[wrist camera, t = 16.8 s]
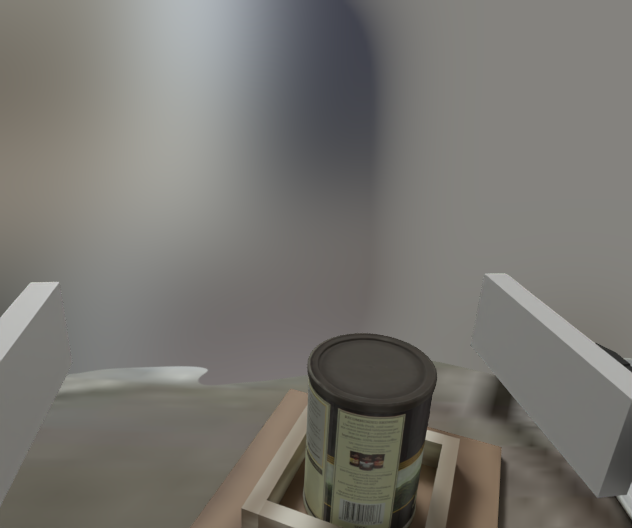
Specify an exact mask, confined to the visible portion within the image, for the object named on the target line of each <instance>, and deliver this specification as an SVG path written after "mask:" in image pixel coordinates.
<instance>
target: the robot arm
mask: <svg viewBox="0 0 632 528" xmlns="http://www.w3.org/2000/svg"><path fill="white" fill-rule="evenodd" d="M471 347H472V348H473V349H474V350H475V351H476V353H478V355H479V356H480V357H481V359H482V360H483V361H484V362H485V363H486V365H487V366H488V367H489V368H490V369H491V371H492V372H493V373H494V374H495V375H496V377H497V378H498V379H499V380H500V381H501V383H502V384H503V385H504V386H505V387H506V389H507V390H508V391H509V392H510V393H511V395H512V396H513V397H514V398H515V399H516V401H517V402H518V403H519V404H520V405H521V407H522V408H523V409H524V410H525V411H526V413H527V414H528V415H529V416H530V417H531V419H532V420H533V421H534V422H535V423H536V425H537V426H538V427H539V428H540V429H541V431H542V432H543V433H544V434H545V435H546V437H547V438H548V439H549V440H550V441H551V443H552V444H553V445H554V446H555V447H556V449H557V450H558V451H559V452H560V453H561V455H562V456H563V457H564V458H565V459H566V461H567V462H568V463H569V464H570V465H571V467H572V468H573V469H574V470H575V471H576V473H577V474H578V475H579V476H580V477H581V479H582V480H583V481H584V482H585V483H586V485H587V486H588V487H589V488H590V489H591V491H592V492H593V493H594V494H595V495H596V497H597V498H601V497H611V496H621V495H627V493H628V490H629V488H630V485H631V483H632V366H630V363H628V362H627V361H626V360H625V359H623V358H622V357H621V356H619V355H618V354H617V353H615V352H613V351H611V350H609V349H607V348H605V347H603V346H601V345H599V344H597V343H594V342H593V341H591V340H590V339H589V338H587V337H586V336H585V335H584V334H582V333H581V332H580V331H579V330H577V329H576V328H575V327H573V326H572V325H571V324H569V323H568V322H567V321H566V320H565V319H563V318H562V317H561V316H560V315H558V314H557V313H556V312H554V311H553V310H552V309H551V308H549V307H548V306H547V305H546V304H544V303H543V302H542V301H540V300H539V299H538V298H537V297H535V296H534V295H533V294H532V293H530V292H529V291H528V290H526V289H525V288H524V287H523V286H521V285H520V284H519V283H517V282H516V281H515V280H514V279H513V278H511V277H510V276H509V275H507V274H506V273H494V274H493V273H492V274H484V279H483V284H482V289H481V294H480V299H479V304H478V310H477V315H476V320H475V325H474V330H473V335H472V341H471ZM71 365H72V358H71V352H70V345H69V339H68V332H67V327H66V320H65V314H64V307H63V301H62V294H61V288H60V282H31V283H30V284H29V285H28V286H27V287H26V288H25V290H24V291H23V292H22V293H21V294H20V295H19V297H18V298H17V299H16V300H15V301H14V302H13V304H12V305H11V306H10V307H9V308H8V309H7V311H6V312H5V313H4V314H3V315H2V316H1V317H0V506H1V504H2V502H3V500H4V498H5V496H6V494H7V492H8V490H9V488H10V486H11V484H12V482H13V480H14V478H15V476H16V474H17V472H18V470H19V468H20V466H21V464H22V462H23V460H24V458H25V456H26V454H27V452H28V451H29V449H30V447H31V445H32V443H33V441H34V439H35V437H36V435H37V433H38V431H39V429H40V427H41V425H42V423H43V421H44V419H45V417H46V415H47V413H48V411H49V409H50V407H51V405H52V403H53V401H54V399H55V397H56V395H57V393H58V391H59V389H60V387H61V385H62V383H63V381H64V379H65V377H66V375H67V373H68V371H69V369H70V367H71Z"/></svg>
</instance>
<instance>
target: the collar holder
mask: <svg viewBox="0 0 632 528" xmlns="http://www.w3.org/2000/svg"><path fill="white" fill-rule="evenodd" d="M307 406H308V393H304V392H301V391H297V390H294V389H290V390H289V391H288V393H287V394H286V395H285V397H284V398H283V400H282V401H281V402H280V404H279V405H278V406H277V408H276V409H275V411H274V412H273V413H272V415H271V416H270V418H269V419H268V420H267V422H266V423H265V424H264V426H263V427H262V429H261V430H260V431H259V433H258V434H257V436H256V437H255V438H254V440H253V441H252V442H251V444H250V445H249V447H248V448H247V449H246V451H245V452H244V454H243V455H242V456H241V458H240V459H239V460H238V462H237V463H236V465H235V466H234V467H233V469H232V470H231V472H230V473H229V474H228V476H227V477H226V478H225V480H224V481H223V483H222V484H221V485H220V487H219V488H218V490H217V491H216V492H215V494H214V495H213V496H212V498H211V499H210V501H209V502H208V503H207V505H206V506H205V508H204V509H203V510H202V512H201V513H200V514H199V516H198V517H197V519H196V520H195V521H194V523H193V524H192V526H191V527H190V528H343V527H340V526H337V525H334V524H332V523H329V522H326V521H323V520H320V519H318V518H315V517H312V516H309V515H308V514H307V511H306V508H305V505H304V501H303V488H304V477H305V454H306V430H307ZM500 466H501V447H499V446H495V445H491V444H488V443H484V442H481V441H477V440H473V439H470V438H466V437H463V436H459V435H455V434H452V433H448V432H445V431H441V430H437V429H434V428H430V427H427V432H426V438H425V444H424V451H423V457H422V464H421V471H420V477H419V484H418V490H417V497H416V511H415V515H414V518H413V520H412V522H411V524H410V526H409V527H408V528H498V507H499V487H500Z"/></svg>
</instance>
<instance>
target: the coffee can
mask: <svg viewBox="0 0 632 528" xmlns="http://www.w3.org/2000/svg"><path fill="white" fill-rule="evenodd" d="M307 365H308V367H307V368H308V376H309V382H308V406H307V430H306V454H305V477H304V488H303V501H304V505H305V508H306V511H307V514H308V515H309V516H312V517H315V518H318V519H320V520H323V521H326V522H329V523H332V524H334V525H337V526H340V527H343V528H408V527H409V526H410V524H411V522H412V520H413V518H414V515H415V511H416V497H417V490H418V484H419V477H420V471H421V464H422V457H423V451H424V444H425V438H426V432H427V426H428V420H429V414H430V406H431V400H432V394H433V392H434V389H435V386H436V382H437V372H436V368H435V366H434V364H433V363H432V361H431V360H430V359H429V358H428V356H426V355H425V354H424V353H423V352H422V351H420V350H419V349H418V348H416V347H414V346H412V345H411V344H409V343H406V342H404V341H401V340H398V339H395V338H392V337H388V336H383V335H377V334H368V333H355V334H347V335H341V336H337V337H333V338H331V339H328V340H326V341H324V342H322V343H321V344H319V345H318V346H317V347H316V348H315V349H314V350H313V351H312V352H311V354H310V356H309V358H308V364H307Z"/></svg>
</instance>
